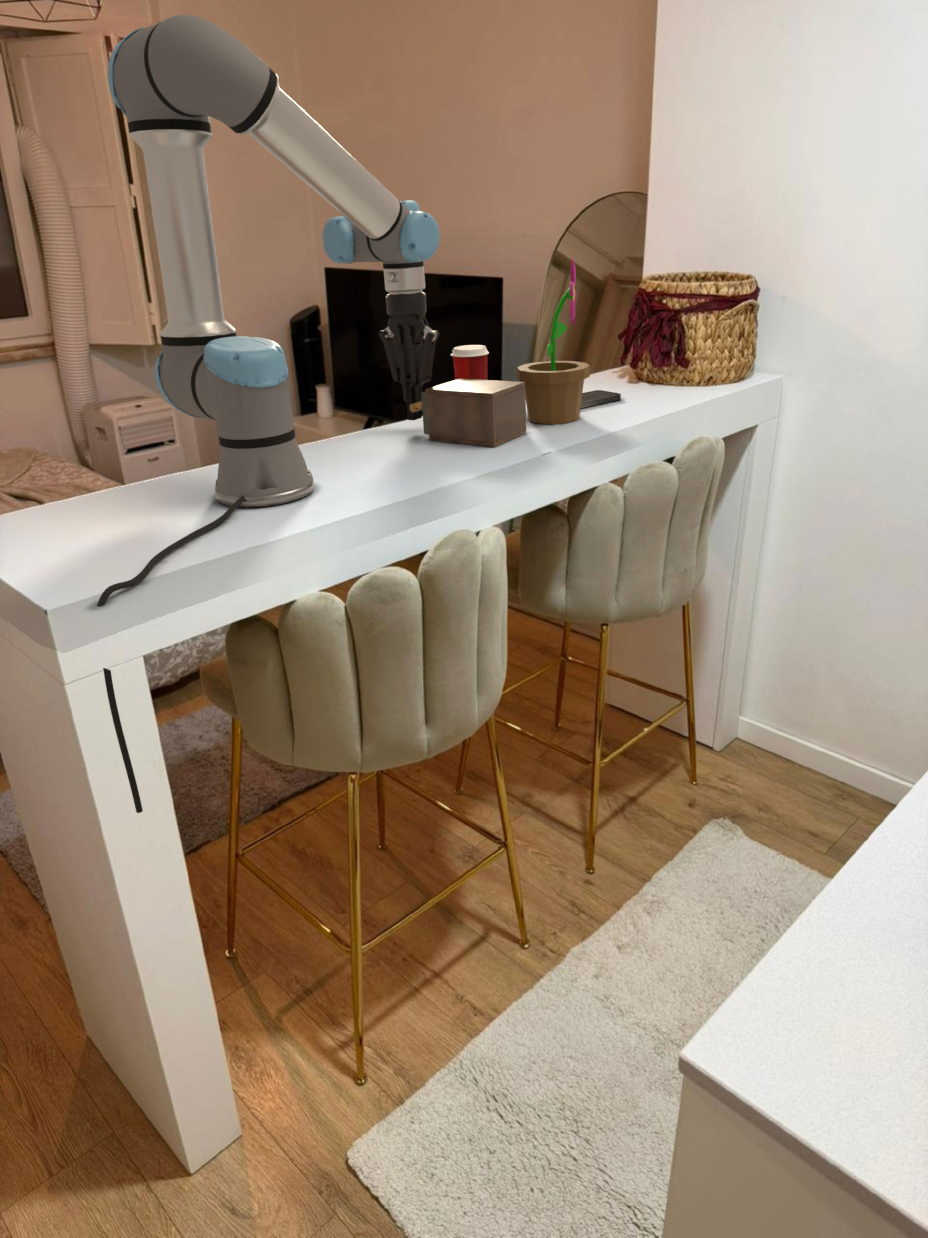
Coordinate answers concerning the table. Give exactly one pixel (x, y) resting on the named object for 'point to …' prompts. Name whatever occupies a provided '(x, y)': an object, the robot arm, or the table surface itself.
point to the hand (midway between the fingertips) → (414, 418)
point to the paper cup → (470, 362)
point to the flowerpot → (555, 376)
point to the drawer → (422, 406)
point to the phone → (598, 398)
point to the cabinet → (476, 411)
